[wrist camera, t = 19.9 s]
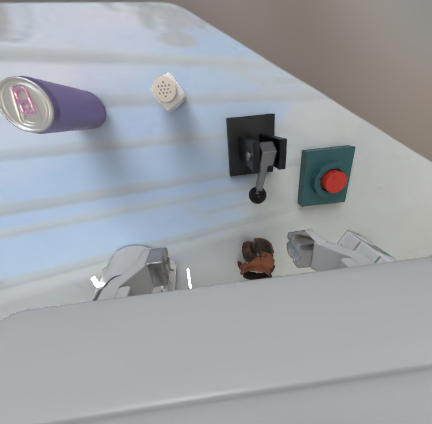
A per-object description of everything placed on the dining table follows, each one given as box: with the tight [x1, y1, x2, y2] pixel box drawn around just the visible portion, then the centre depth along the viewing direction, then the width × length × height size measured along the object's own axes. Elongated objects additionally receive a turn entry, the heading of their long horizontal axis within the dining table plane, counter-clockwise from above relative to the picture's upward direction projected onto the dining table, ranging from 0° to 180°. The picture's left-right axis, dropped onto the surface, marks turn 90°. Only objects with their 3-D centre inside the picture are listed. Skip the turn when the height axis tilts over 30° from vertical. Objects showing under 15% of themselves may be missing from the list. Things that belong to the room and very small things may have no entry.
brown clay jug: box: [238, 238, 275, 280], centre depth 50 cm, size 12×10×8 cm
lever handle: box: [249, 141, 277, 204], centre depth 36 cm, size 13×3×3 cm, turn 6°
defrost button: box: [321, 170, 347, 193], centre depth 41 cm, size 4×4×2 cm
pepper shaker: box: [151, 73, 186, 112], centre depth 32 cm, size 4×4×10 cm
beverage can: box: [0, 76, 105, 134], centre depth 30 cm, size 6×6×15 cm
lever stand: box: [226, 114, 287, 176], centre depth 36 cm, size 11×9×12 cm
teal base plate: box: [298, 145, 355, 207], centre depth 43 cm, size 12×10×4 cm
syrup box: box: [337, 231, 397, 264], centre depth 47 cm, size 6×6×14 cm
